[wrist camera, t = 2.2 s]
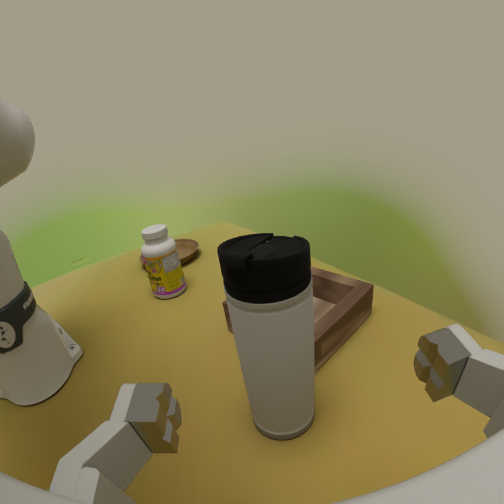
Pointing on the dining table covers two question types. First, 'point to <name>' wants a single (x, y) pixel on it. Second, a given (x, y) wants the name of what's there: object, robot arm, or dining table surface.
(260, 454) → the dining table surface
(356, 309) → the square wooden tray
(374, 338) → the dining table surface
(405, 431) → the dining table surface
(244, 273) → the travel mug
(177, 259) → the supplement bottle
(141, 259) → the plant saucer
